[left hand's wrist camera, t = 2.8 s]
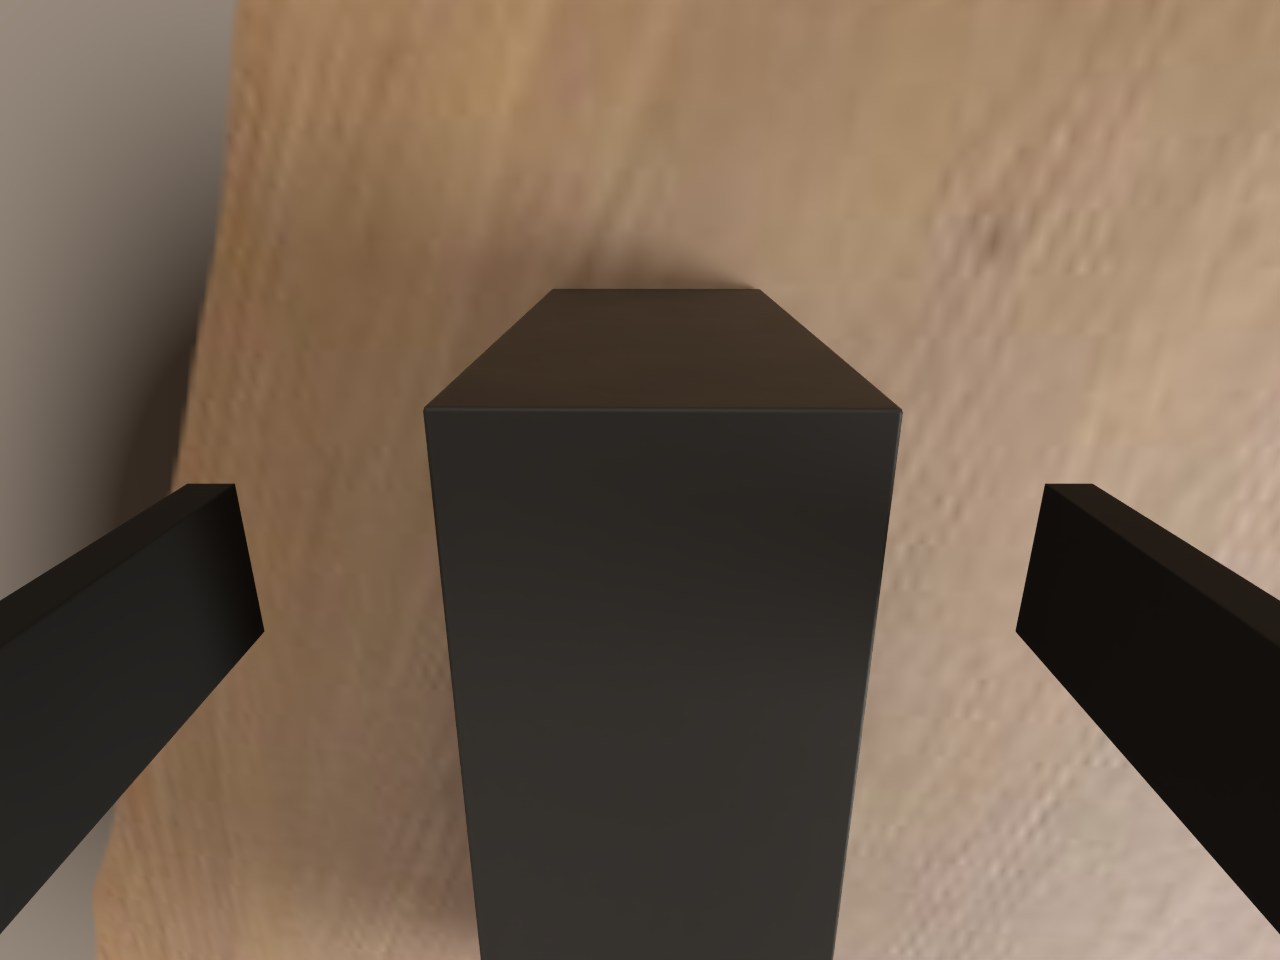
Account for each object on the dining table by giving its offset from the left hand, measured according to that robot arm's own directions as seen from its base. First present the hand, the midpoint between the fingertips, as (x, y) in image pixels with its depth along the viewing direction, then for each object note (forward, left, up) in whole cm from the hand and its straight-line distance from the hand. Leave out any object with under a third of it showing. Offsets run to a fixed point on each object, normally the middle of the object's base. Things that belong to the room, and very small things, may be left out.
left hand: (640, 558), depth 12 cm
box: (+8, +5, -11) cm, 15 cm away
